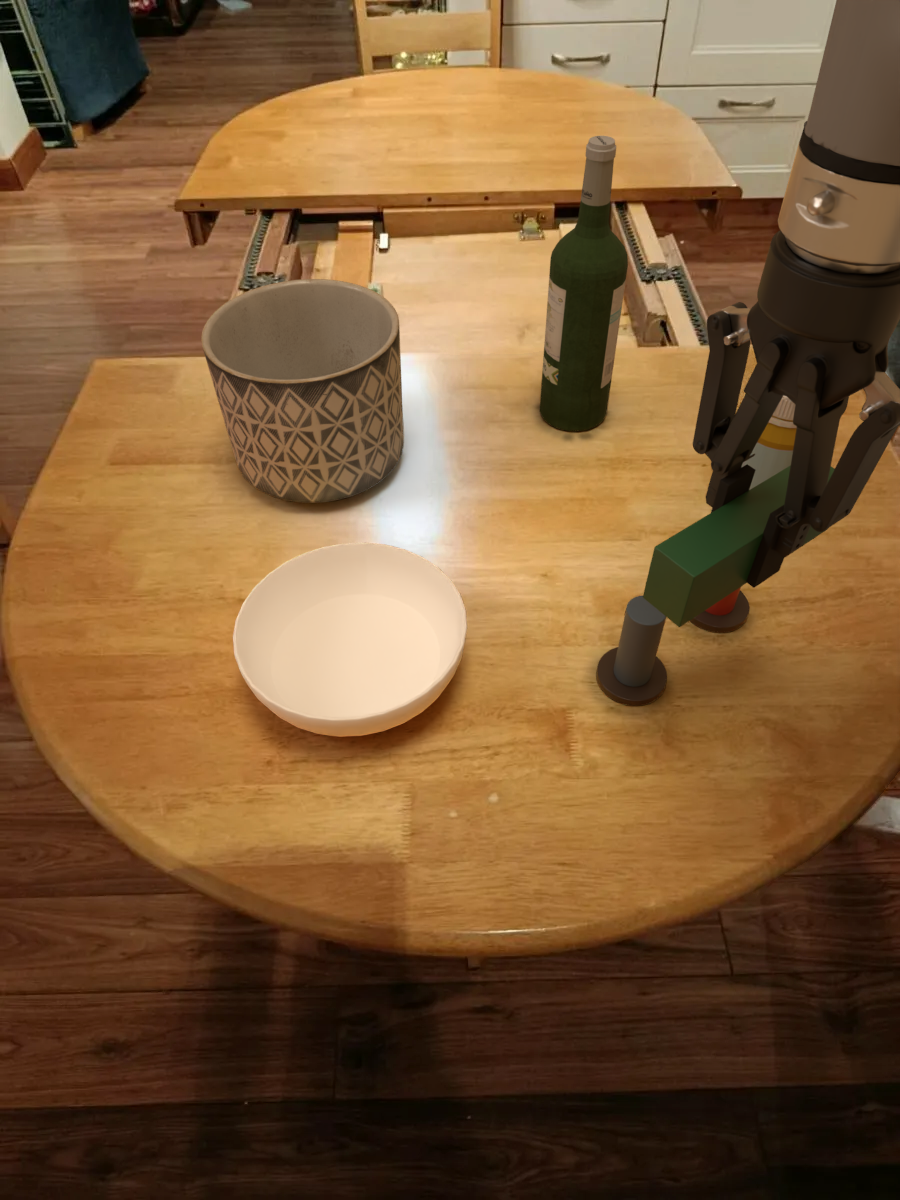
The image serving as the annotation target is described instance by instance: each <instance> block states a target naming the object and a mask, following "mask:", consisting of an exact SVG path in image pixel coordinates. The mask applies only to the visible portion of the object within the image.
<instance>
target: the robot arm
mask: <svg viewBox="0 0 900 1200" xmlns="http://www.w3.org/2000/svg"><path fill="white" fill-rule="evenodd" d="M831 17H832V18H831V21H830V25H829V30H828V32H827V33H828V34H827V38H826V42H825V46H824V50H823V54H822V59H821V63H820V68H819V70H818V75H817V76H818V77H817V80H816V84H815V88H814V92H813V96H812V99H811V100H812V101H811V104H810V109H809V112H808V116H807V120H806V121H804V122H803V129H802V132H801V135H800V139H799V141H798V145H797V148H796V151H795V154H794V158H793V162H792V166H791V170H790V173H789V177H788V181H787V185H786V188H785V192H784V196H783V199H782V203H781V207H780V210H779V214H778V217H777V224H778V228H779V230H778V231H777V232H776V233H774V235H773V236H772V238H771V240H770V244H769V247H768V250H767V251H768V252H767V255H766V258H765V262H764V266H763V269H762V273H761V277H760V281H759V284H758V287H757V293H756V294H757V296H756V298H757V302H756V303H754V304H753V305H752V306H751V307H748V306H747V305H746V304H745V303H744V302H742V301H738V302H735V303H733V304H731V305H729V306H727V307H725V308H722V309H720V310H718V311H715V312H714V313H712V314H710V315H709V316H707V319H706V331H707V340H708V349H709V352H708V356H707V357H708V358H707V363H706V368H705V374H704V379H703V383H702V390H701V395H700V401H699V406H698V411H697V418H696V422H695V428H694V434H693V439H692V448H693V450H694V451H695V452H696V453H697V454H698V455H705V456H707V457H708V459H709V460H710V468H711V471H712V472H711V476H710V479H709V483H708V486H707V490H706V493H705V504H707V505H708V506H709V507H711V511H710V513H712V512H713V511H715V510H717V509H718V508H720V507H722V506H723V505H725V504H727V503H728V502H730V501H732V500H733V499H735V498H737V497H739V496H740V495H742V494H744V493H745V492H747V491H749V489H750V486H751V483H752V480H753V477H754V474H755V469H754V468H752V467H751V466H749V465H748V464H747V465H745V466H743V467H742V464H743V462H745V461H747V460H748V459H750V458H752V457H753V456H754V455H755V454H753V455H751V456H750V454H751V453H752V451H753V449H754V447H755V445H756V444H757V442H758V440H759V438H760V436H761V435H762V433H763V431H764V429H765V427H766V426H767V424H768V422H769V420H770V419H771V417H772V415H773V413H774V411H775V410H776V408H777V406H778V404H779V402H780V401H781V399H782V397H783V396H787V397H788V398H789V399H790V400H791V401H792V402H793V403H794V404H795V411H794V417H793V424H794V425H796V426H797V429H796V436H795V442H794V448H793V454H792V460H791V466H790V473H789V479H788V485H787V491H786V497H785V503H784V505H783V506H781V507H779V508H778V509H776V510H775V511H773V512H772V513H770V515H769V518H768V521H767V524H766V527H765V529H764V532H763V537H762V539H761V542H760V545H759V548H758V550H757V553H756V556H755V559H754V561H753V564H752V567H751V570H750V572H749V575H748V578H747V581H746V582H747V583H746V584H748V585H749V586H750V587H752V588H754V589H755V588H757V587H758V586H759V585H761V584H762V583H764V582H765V581H767V580H768V579H769V578H771V577H773V576H774V575H776V574H777V573H779V571H780V569H781V568H782V564H783V563H784V560H785V558H787V557H788V556H790V555H791V554H793V553H794V552H796V551H797V550H799V549H801V548H802V547H803V546H804V545H803V543H804V541H805V538H806V536H807V534H808V531H809V529H810V527H812V528H813V529H814V530H816V531H818V532H823V531H824V532H826V531H827V530H829V528H831V527H832V526H834V525H835V524H837V523H838V522H840V521H842V520H843V519H845V518H847V517H848V516H849V515H850V514H851V512H852V510H853V509H854V507H855V505H856V503H857V502H858V500H859V498H860V495H861V494H862V493H863V490H864V489H865V487H866V485H867V483H868V482H869V481H870V478H871V476H872V474H873V473H874V471H875V469H876V467H877V465H878V463H879V461H880V460H881V458H882V457H883V454H884V452H885V451H886V449H887V447H888V445H889V443H890V442H891V440H892V438H893V436H894V435H895V432H896V431H897V429H898V427H900V388H899V386H897V384H896V383H895V382H894V381H893V379H891V377H890V376H889V375H888V373H887V370H888V368H889V353H888V347H889V343H890V339H891V338H892V335H893V333H894V332H895V330H896V328H897V326H898V324H899V322H900V0H836V1H835V5H834V9H833V13H832V16H831ZM751 347H752V350H753V353H754V357H755V360H756V365H755V367H754V368H753V370H752V373H750V376H749V378H748V381H747V382H746V384H745V387H744V388H743V393H744V396H743V398H742V400H741V402H740V404H739V400H740V394H741V390H742V386H743V381H744V377H745V373H746V367H747V362H748V358H749V354H750V348H751ZM862 390H863V391H864V393H865V401H864V403H863V405H862V406H861V411H860V412H859V414H858V418H859V419H860V420H861V423H860V424H859V425H858V426H857V427H856V429H855V430H854V431H853V432H852V434H851V436H850V438H849V439H848V442H847V444H846V445H845V448H844V449H843V451H842V453H841V456H840V458H839V459H838V462H837V464H836V465H835V467H834V468H835V469H834V471H833V473H832V475H831V477H830V479H829V481H828V477H829V472H830V467H832V462H833V457H834V452H835V447H836V441H837V436H838V430H839V426H840V421H841V418H842V416H843V415H844V413H845V412H846V410H847V408H848V405H849V399H850V397H851V396H852V395H854V394H856V393H858V392H860V391H862ZM738 405H739V406H738ZM827 482H828V483H827ZM826 529H827V530H826ZM825 530H826V531H825ZM824 532H823V533H824ZM802 545H803V546H802ZM801 546H802V547H801ZM798 548H799V549H798ZM795 550H796V551H795ZM792 552H793V553H792ZM789 554H790V555H789ZM786 556H787V557H786ZM784 557H785V558H784Z"/></svg>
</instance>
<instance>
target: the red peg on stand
mask: <svg viewBox="0 0 900 1200" xmlns="http://www.w3.org/2000/svg"><path fill="white" fill-rule="evenodd" d="M741 588H742V586H741V587H740V588H738V589H737V590H735V591H734V592H732V593H731V594H729V595H728V596H726V597H725V598H723V599H722V600H720V601H719V602H717V603H716V604H714V605H713V606H711V607H710V608H708V609H707V610H705V611H703V612H702V613H700V614H699V615H697V616H696V617H694V618H693V619H691V620H690V621H689V622H691V623H692V624H693V625H695V626H696V627H698V628H700V629H701V630H704V631H707V632H711V633H715V634H717V633H718V634H725V633H730V632H734V631H736V630H738V629H740V628H741V627H742V626H744V625H745V623H746V621H747V620H748V617H749V614H750V603H749V600H748V598H747V596H746V595H745V594H744V592H743V591H742V590H741Z"/></svg>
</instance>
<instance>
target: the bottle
mask: <svg viewBox="0 0 900 1200" xmlns="http://www.w3.org/2000/svg"><path fill="white" fill-rule="evenodd" d="M794 411H795V404H794V403H793V402H792V401H791V400H790V399H789V398H788V397H787V396H783V397H782V399H781V401H780V402H779V404H778V406H777V408H776V410H775V411H774V413H773V415H772V417H771V419H770V420H769V422H768V424H767V426H766V427H765V429H764V431H763V433H762V435H761V436H760V438H759V440H758V442H757V444H756V445H755V447H754V449H753V451H752V453H751V454H750V456H751V455H753V454H755V455H754V456H753V457H752V458H750V459H748V460H747V461H745V462H743V464H742V467H743V466H745V465H747V464H748V465H749V466H751V467H752V468H754V469H755V474H754V477H753V480H752V483H751V486H750V489H752V488H754V487H755V486H757V485H759V484H760V483H762V482H764V481H765V480H767V479H769V478H770V477H772V476H774V475H775V474H777V473H779V472H780V471H782V470H784V469H785V468H787V467H789V466H790V465H791V460H792V454H793V448H794V442H795V436H796V429H797V426H796V425H794V424H793V417H794ZM750 489H749V490H750Z"/></svg>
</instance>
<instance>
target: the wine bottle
mask: <svg viewBox="0 0 900 1200" xmlns="http://www.w3.org/2000/svg"><path fill="white" fill-rule="evenodd" d="M616 153H617V144H616V140H615V138H613V137H612V136H608V135H594V136H591V137H589V139H588V142H587V144H586V146H585V164H584V172H583V179H582V185H581V186H582V188H581V195H580V203H579V210H578V218H577V221H576V224H575V226H574V227H573V228H572V229H571V230H570V231H568V232H567V233H566V234H565V235H563V236H562V237H561V238H560V239H559V240H558V241H557V242H556V244H555V246H554V248H553V249H552V251H551V254H550V259H549V261H550V262H549V275H548V276H549V277H548V289H547V303H546V318H545V328H544V329H545V331H544V342H543V343H544V344H543V359H542V369H541V370H542V371H541V372H542V373H541V382H540V383H541V384H540V385H541V386H540V399H539V413H540V416H541V417H542V419H543V420H544V421H545V422H546V423H547V424H548V425H550V426H551V427H553V428H555V429H558V430H561V431H565V432H576V433H577V432H585V431H589V430H592V429H594V428H596V427H598V426H599V425H600V424H601V423H603V421H604V420H605V418H606V416H607V414H608V406H609V400H610V393H611V386H612V378H613V373H614V372H613V371H614V365H615V359H616V350H617V345H618V338H619V330H620V323H621V316H622V310H623V303H624V302H623V301H624V296H625V289H626V288H625V287H626V281H627V274H628V268H629V267H628V266H629V260H628V259H629V258H628V252H627V250H626V246H625V245H624V244H623V242H622V241H621V240H620V239H619V237H618V236H617V235H616V233H614V232H613V231H612V229H611V227H610V222H609V221H610V210H611V198H612V185H613V173H614V164H615V163H614V162H615V158H616V155H617V154H616Z"/></svg>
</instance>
